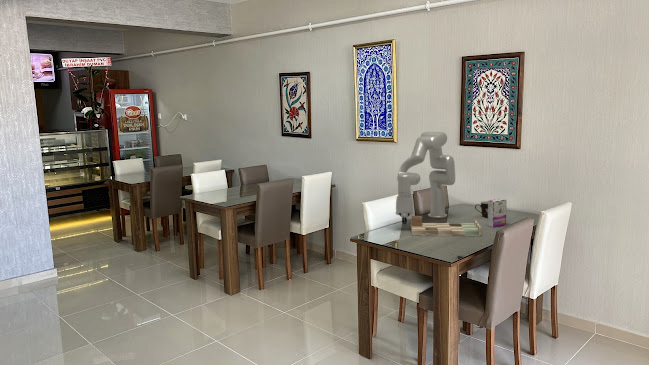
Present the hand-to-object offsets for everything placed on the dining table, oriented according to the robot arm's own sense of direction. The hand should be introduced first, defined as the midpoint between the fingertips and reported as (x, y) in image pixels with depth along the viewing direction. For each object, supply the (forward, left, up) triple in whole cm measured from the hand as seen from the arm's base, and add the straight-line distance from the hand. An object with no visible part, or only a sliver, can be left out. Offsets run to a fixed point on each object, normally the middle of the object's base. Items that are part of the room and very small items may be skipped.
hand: (404, 223), depth 299 cm
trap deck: (+4, +23, -4) cm, 24 cm away
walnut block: (0, +8, -1) cm, 8 cm away
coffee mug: (-36, +54, -4) cm, 65 cm away
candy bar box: (-12, +57, -4) cm, 58 cm away
